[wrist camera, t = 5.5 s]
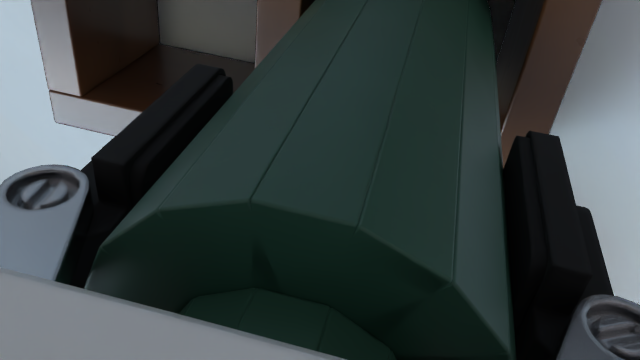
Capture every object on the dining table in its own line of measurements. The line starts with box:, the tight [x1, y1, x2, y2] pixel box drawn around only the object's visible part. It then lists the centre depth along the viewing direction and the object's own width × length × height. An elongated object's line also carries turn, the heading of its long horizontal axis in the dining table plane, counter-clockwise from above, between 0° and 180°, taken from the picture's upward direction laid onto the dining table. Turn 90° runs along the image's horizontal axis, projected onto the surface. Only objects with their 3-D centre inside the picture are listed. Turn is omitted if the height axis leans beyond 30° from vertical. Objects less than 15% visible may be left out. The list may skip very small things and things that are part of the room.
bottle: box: [84, 0, 517, 360], centre depth 11 cm, size 6×6×18 cm
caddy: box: [31, 0, 602, 169], centre depth 19 cm, size 9×17×6 cm, turn 84°
